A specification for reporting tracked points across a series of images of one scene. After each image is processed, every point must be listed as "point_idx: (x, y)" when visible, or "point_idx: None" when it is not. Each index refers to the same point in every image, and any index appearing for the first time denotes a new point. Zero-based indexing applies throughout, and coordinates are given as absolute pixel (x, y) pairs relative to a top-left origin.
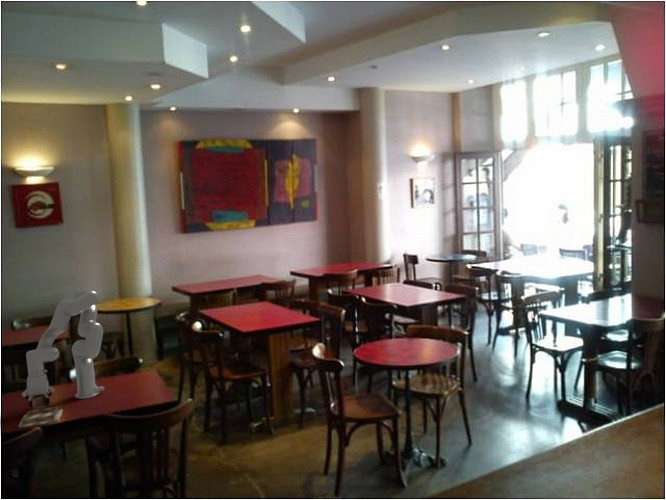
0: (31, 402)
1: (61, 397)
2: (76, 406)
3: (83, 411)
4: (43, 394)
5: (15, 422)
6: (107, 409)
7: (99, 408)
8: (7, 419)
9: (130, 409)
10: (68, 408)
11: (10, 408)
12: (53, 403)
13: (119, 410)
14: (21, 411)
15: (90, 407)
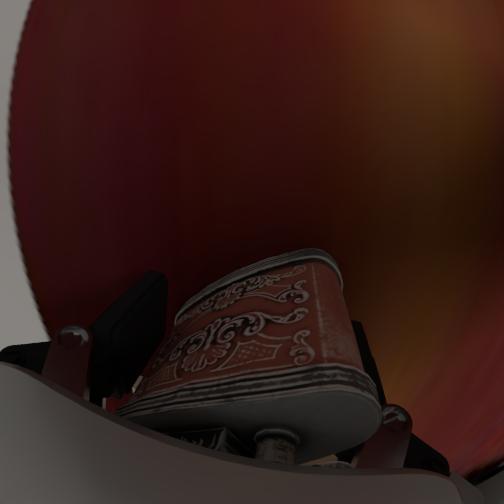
0: (130, 383)
1: (478, 11)
2: (485, 380)
3: (444, 452)
4: (326, 408)
5: (112, 408)
6: (488, 450)
7: (490, 437)
8: (49, 327)
9: (500, 459)
10: (443, 394)
11: (31, 58)
12: (422, 141)
13: (488, 461)
14: (81, 201)
15: (492, 419)
